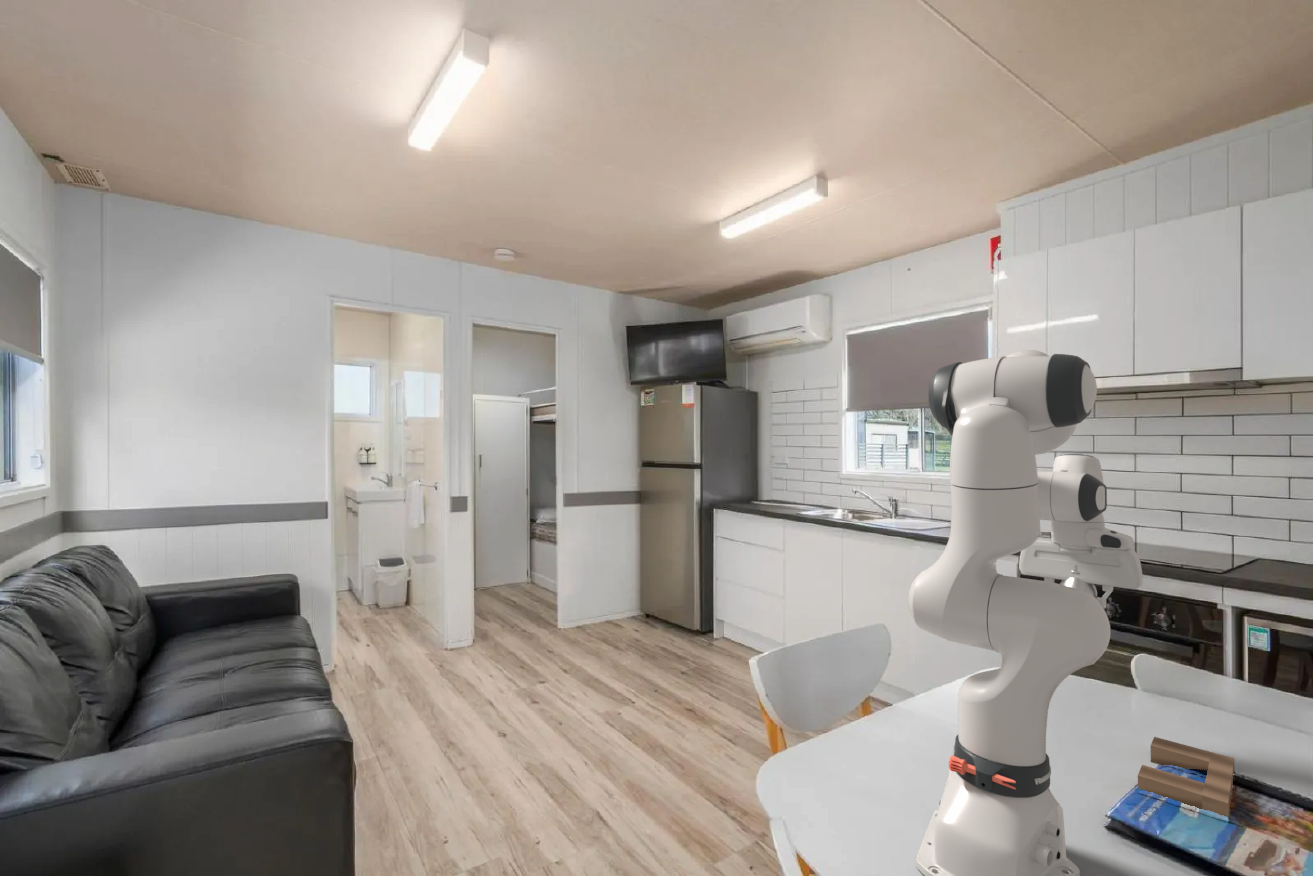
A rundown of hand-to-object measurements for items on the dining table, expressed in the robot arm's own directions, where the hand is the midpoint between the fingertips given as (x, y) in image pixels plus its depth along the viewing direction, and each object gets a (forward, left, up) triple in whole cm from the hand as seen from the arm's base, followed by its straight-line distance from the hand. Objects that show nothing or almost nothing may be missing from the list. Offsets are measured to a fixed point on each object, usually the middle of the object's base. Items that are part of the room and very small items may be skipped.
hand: (1077, 604), depth 119 cm
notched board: (-6, -17, -27) cm, 32 cm away
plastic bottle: (0, 0, -12) cm, 12 cm away
